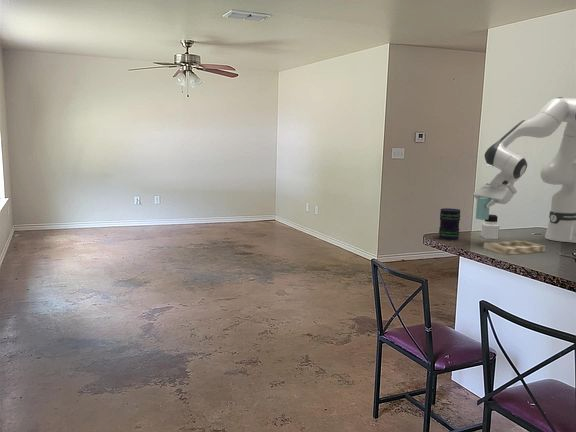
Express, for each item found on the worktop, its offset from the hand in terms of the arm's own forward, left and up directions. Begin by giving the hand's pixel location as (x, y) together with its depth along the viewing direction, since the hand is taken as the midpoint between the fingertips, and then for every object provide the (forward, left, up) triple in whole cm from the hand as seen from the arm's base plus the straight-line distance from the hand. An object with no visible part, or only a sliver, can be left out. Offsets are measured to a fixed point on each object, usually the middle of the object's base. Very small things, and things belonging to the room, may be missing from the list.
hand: (482, 206), depth 233 cm
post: (-1, 0, -6) cm, 6 cm away
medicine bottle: (-19, -15, -19) cm, 31 cm away
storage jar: (+3, -19, -19) cm, 27 cm away
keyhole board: (-10, +12, -19) cm, 24 cm away
